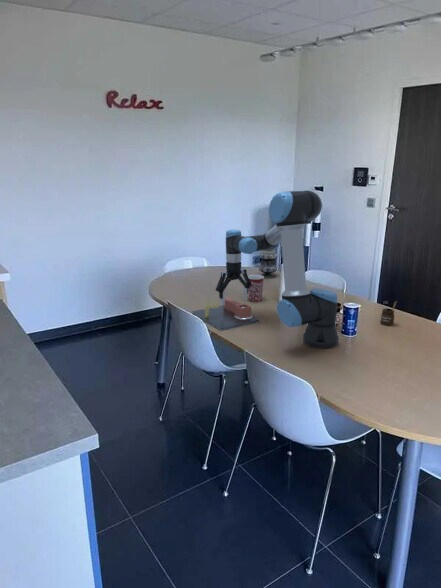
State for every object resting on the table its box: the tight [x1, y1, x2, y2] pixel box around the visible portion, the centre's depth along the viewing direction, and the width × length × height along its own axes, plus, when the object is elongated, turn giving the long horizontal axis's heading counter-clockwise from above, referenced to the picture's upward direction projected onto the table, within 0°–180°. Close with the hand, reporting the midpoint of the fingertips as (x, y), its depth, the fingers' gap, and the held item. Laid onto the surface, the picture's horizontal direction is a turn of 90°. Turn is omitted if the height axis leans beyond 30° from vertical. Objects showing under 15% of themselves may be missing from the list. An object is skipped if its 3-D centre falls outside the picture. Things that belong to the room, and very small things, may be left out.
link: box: [223, 297, 252, 318], centre depth 231 cm, size 19×6×5 cm, turn 31°
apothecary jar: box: [258, 249, 278, 279], centre depth 301 cm, size 12×12×18 cm
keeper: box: [203, 301, 220, 319], centre depth 224 cm, size 7×6×8 cm
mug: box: [248, 274, 265, 303], centre depth 255 cm, size 13×9×14 cm
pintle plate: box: [192, 304, 260, 331], centre depth 228 cm, size 28×22×1 cm
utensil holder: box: [380, 300, 398, 327], centre depth 217 cm, size 6×6×12 cm
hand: (234, 302), depth 232 cm, fingers open, 13 cm apart
